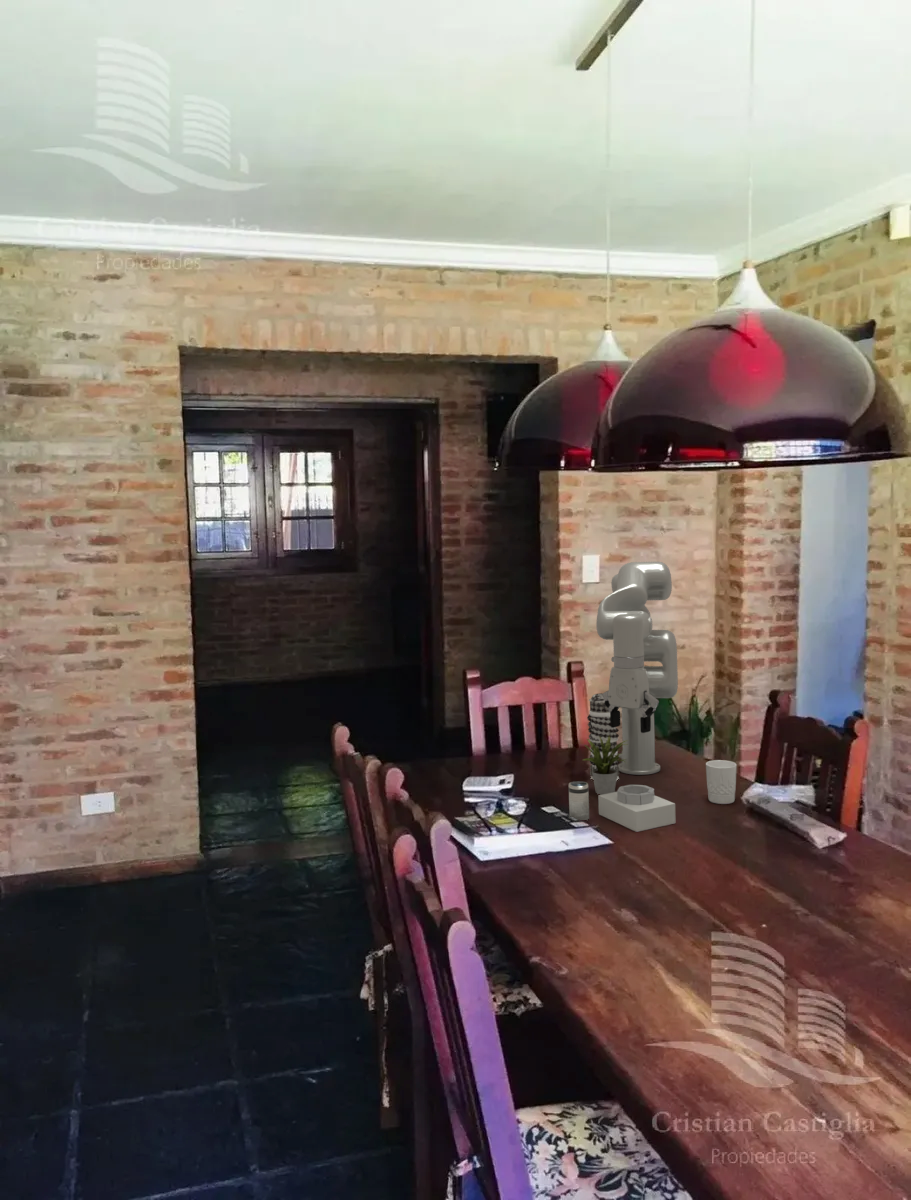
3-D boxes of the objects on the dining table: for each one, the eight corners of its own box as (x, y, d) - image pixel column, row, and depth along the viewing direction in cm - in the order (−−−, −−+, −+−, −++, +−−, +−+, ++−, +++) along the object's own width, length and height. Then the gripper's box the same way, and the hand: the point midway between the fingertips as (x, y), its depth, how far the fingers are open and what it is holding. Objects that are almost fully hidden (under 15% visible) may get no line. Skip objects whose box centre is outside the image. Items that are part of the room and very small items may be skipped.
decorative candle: (586, 782, 269) (584, 697, 266) (591, 773, 277) (589, 691, 275) (618, 783, 266) (616, 698, 264) (622, 774, 275) (620, 692, 273)
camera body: (598, 814, 240) (598, 785, 239) (636, 806, 245) (635, 778, 244) (636, 831, 225) (635, 801, 225) (675, 823, 231) (674, 793, 230)
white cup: (740, 804, 243) (740, 767, 242) (710, 805, 243) (709, 768, 242) (732, 795, 251) (731, 759, 250) (703, 796, 251) (702, 760, 250)
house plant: (637, 801, 249) (636, 741, 248) (586, 802, 250) (584, 743, 248) (628, 785, 264) (627, 729, 262) (580, 787, 264) (578, 731, 262)
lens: (565, 817, 238) (564, 782, 238) (582, 814, 240) (581, 779, 240) (576, 822, 234) (575, 787, 233) (593, 819, 236) (592, 784, 235)
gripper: (593, 661, 238) (594, 727, 240) (647, 667, 225) (648, 736, 226) (612, 658, 243) (613, 722, 244) (665, 664, 230) (667, 731, 231)
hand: (630, 729), depth 235 cm, fingers open, 9 cm apart
